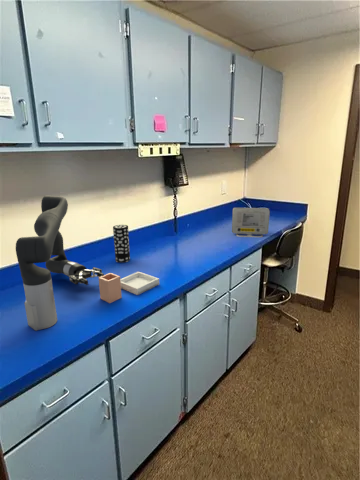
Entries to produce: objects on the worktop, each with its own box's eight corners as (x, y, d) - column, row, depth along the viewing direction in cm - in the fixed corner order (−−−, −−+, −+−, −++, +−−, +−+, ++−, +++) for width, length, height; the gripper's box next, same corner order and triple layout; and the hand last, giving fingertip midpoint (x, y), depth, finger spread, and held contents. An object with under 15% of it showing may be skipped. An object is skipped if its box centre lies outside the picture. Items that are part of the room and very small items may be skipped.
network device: (266, 234, 226) (268, 207, 220) (268, 237, 217) (270, 210, 212) (231, 233, 229) (232, 207, 223) (231, 236, 221) (232, 209, 215)
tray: (137, 295, 135) (137, 288, 134) (116, 286, 143) (116, 280, 142) (159, 284, 145) (159, 278, 144) (138, 277, 154) (138, 271, 153)
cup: (109, 303, 128) (108, 281, 125) (100, 298, 132) (98, 277, 129) (121, 297, 133) (120, 276, 130) (112, 293, 137) (110, 272, 134)
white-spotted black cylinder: (112, 260, 177) (110, 226, 171) (124, 256, 183) (122, 224, 177) (120, 263, 171) (118, 229, 165) (133, 260, 177) (131, 226, 171)
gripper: (60, 268, 140) (80, 276, 130) (87, 259, 151) (107, 266, 141) (62, 283, 142) (82, 292, 133) (88, 273, 153) (109, 281, 143)
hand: (95, 279), depth 137 cm, fingers open, 8 cm apart
